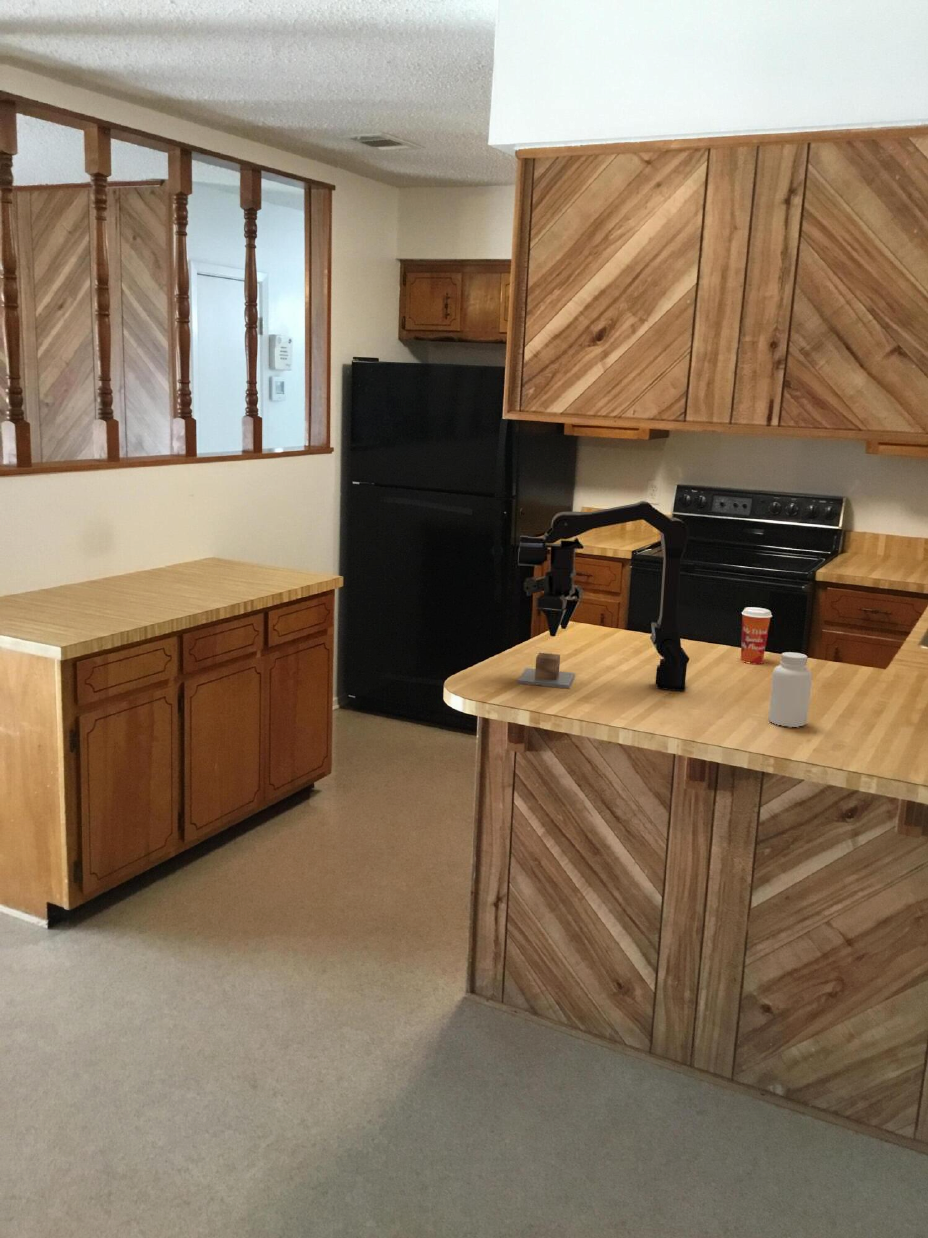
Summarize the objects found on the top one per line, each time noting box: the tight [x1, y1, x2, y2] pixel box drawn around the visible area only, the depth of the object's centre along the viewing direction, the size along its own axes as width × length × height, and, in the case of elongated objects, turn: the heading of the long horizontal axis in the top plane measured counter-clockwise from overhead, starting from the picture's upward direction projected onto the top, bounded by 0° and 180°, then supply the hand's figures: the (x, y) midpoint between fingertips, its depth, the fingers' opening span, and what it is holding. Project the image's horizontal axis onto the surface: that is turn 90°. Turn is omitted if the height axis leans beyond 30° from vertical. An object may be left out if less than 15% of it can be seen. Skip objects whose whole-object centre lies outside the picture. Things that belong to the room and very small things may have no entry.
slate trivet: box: [517, 667, 576, 690], centre depth 255 cm, size 12×12×1 cm
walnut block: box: [534, 652, 561, 680], centre depth 254 cm, size 5×5×5 cm
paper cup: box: [740, 606, 773, 663], centre depth 282 cm, size 8×8×14 cm
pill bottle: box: [768, 651, 813, 728], centre depth 228 cm, size 8×8×15 cm
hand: (558, 632), depth 253 cm, fingers open, 9 cm apart
